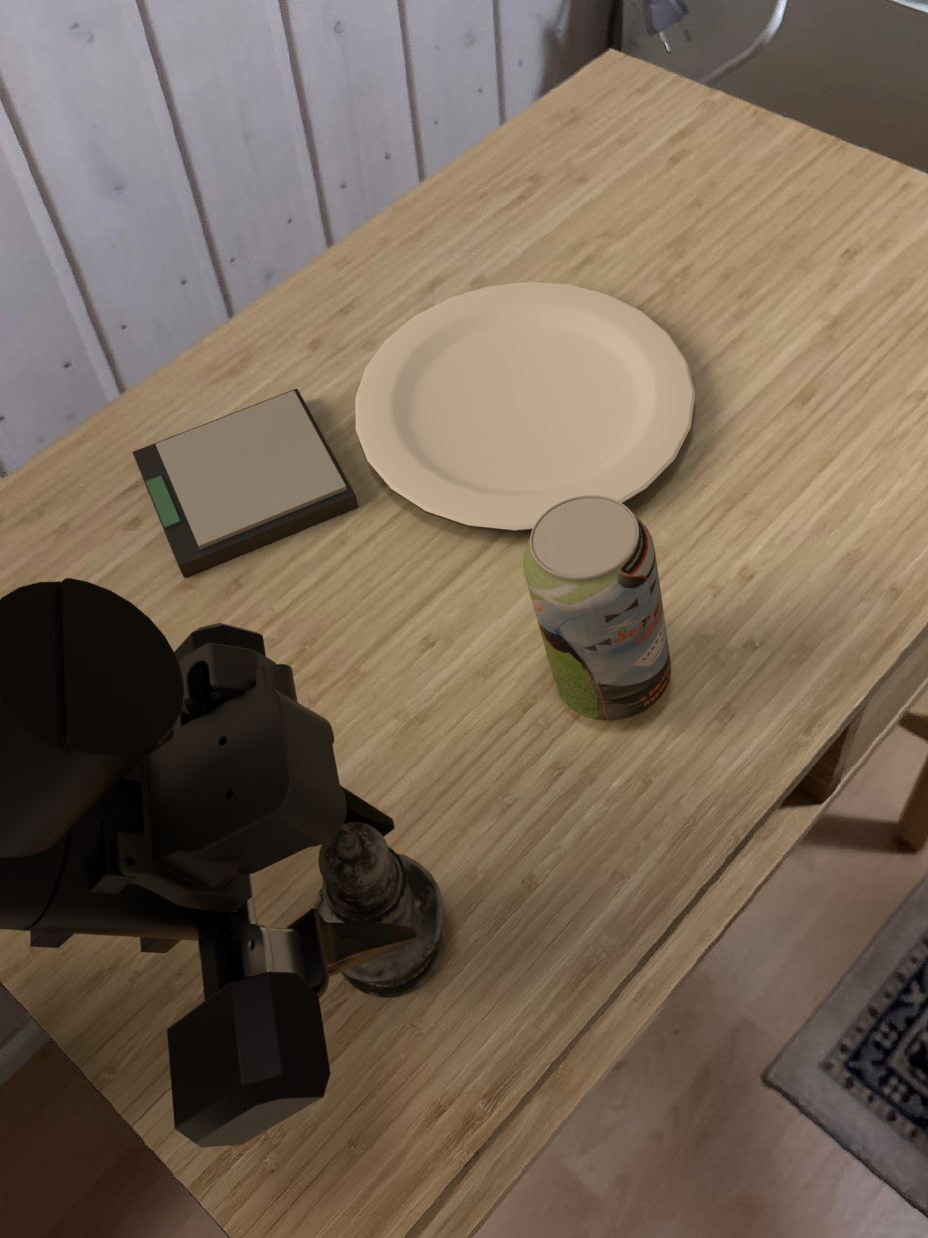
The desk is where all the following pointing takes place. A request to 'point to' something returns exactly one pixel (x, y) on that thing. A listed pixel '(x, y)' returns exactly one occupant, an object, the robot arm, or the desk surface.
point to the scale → (243, 482)
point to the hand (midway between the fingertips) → (399, 881)
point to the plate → (523, 404)
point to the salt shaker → (382, 906)
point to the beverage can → (599, 607)
